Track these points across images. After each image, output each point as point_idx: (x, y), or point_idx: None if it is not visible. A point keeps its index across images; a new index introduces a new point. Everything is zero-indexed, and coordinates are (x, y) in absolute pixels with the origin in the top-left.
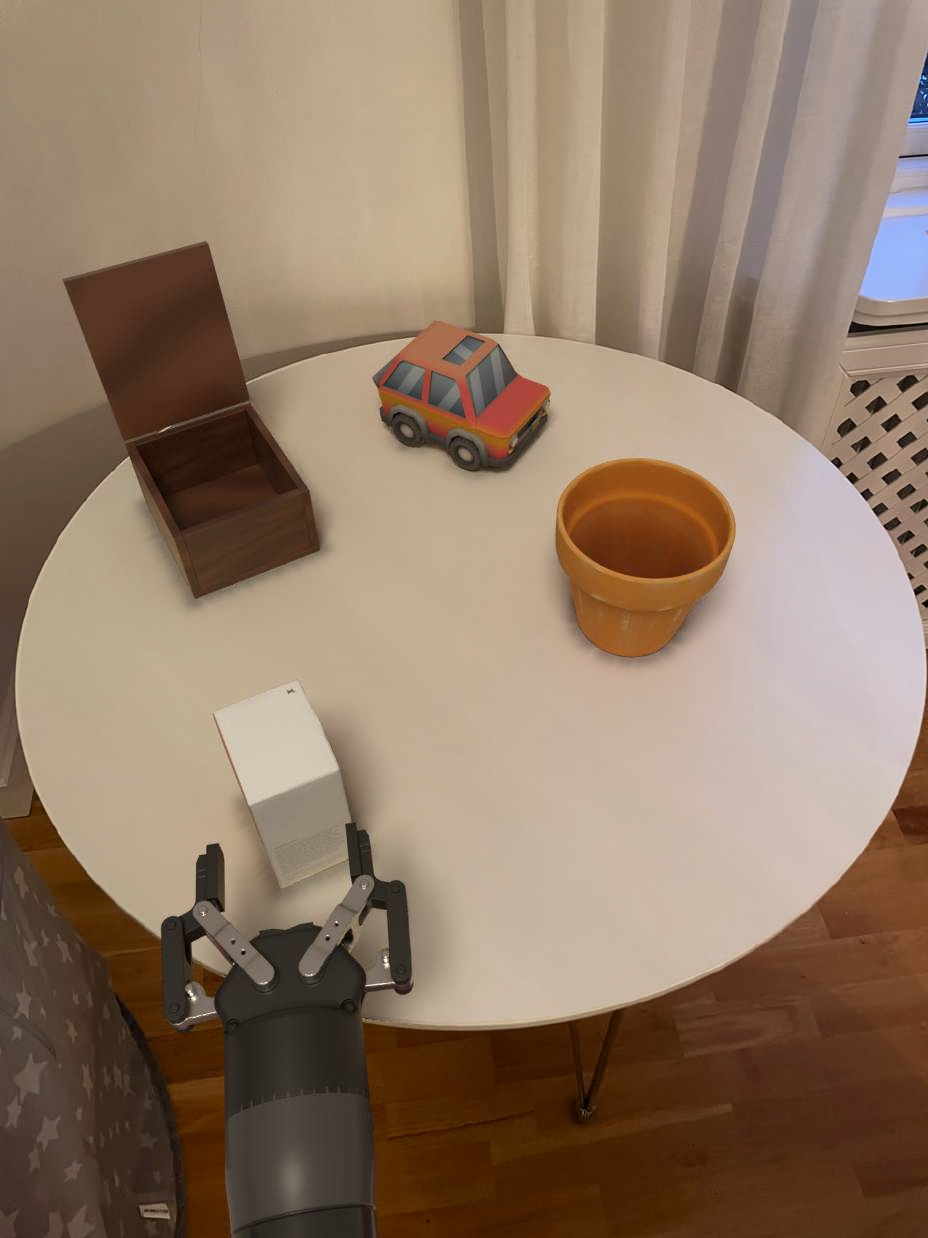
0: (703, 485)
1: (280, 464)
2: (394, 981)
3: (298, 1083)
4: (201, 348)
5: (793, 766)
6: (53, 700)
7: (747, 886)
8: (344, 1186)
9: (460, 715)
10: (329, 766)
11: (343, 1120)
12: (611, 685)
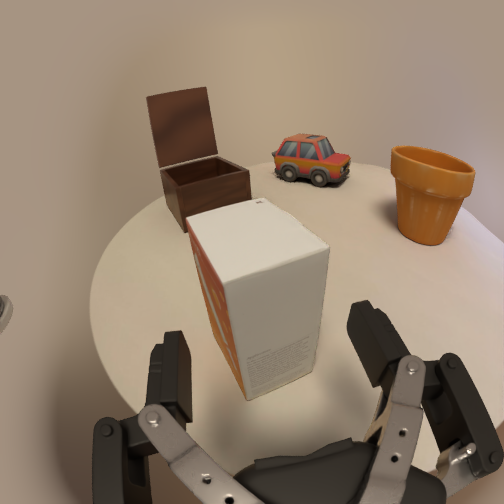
0: (445, 155)
1: (232, 167)
2: (481, 475)
3: None
4: (198, 127)
5: None
6: (104, 277)
7: None
8: None
9: (359, 277)
10: (318, 244)
11: None
12: (431, 257)
